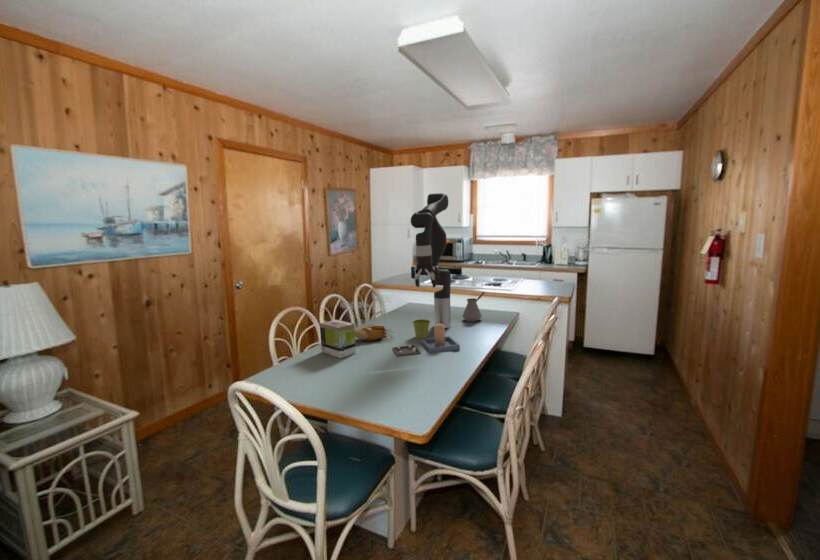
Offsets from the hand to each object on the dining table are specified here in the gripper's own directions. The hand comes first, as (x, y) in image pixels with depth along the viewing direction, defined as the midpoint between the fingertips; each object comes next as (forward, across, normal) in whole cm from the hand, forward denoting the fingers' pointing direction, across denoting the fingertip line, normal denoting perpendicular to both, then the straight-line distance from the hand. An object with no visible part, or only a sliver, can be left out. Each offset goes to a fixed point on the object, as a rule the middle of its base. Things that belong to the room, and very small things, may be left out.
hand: (426, 286), depth 195 cm
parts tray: (+28, +5, +18) cm, 33 cm away
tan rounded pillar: (+28, -8, +5) cm, 30 cm away
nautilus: (+28, +28, +6) cm, 40 cm away
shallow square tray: (+29, -8, +5) cm, 30 cm away
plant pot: (+29, +7, -6) cm, 31 cm away
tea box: (+27, +36, +29) cm, 53 cm away
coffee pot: (+31, -10, -52) cm, 62 cm away
